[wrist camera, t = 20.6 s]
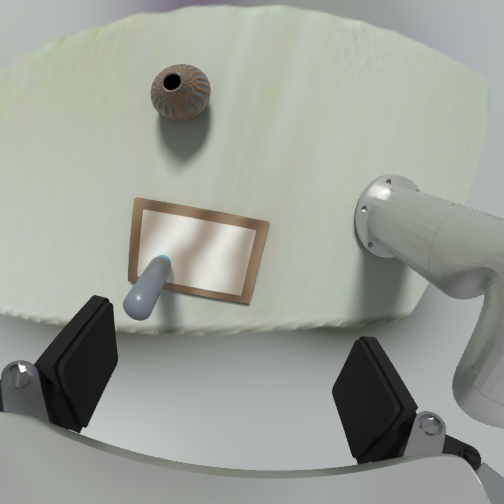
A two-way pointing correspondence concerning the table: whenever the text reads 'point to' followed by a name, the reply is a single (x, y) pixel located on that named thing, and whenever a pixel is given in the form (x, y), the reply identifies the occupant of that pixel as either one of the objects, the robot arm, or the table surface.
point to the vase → (180, 92)
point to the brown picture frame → (198, 248)
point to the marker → (147, 288)
